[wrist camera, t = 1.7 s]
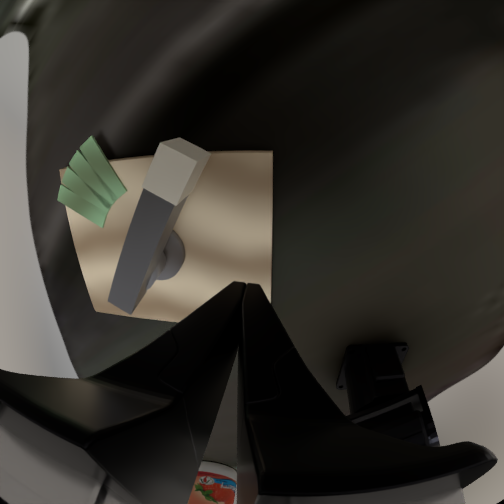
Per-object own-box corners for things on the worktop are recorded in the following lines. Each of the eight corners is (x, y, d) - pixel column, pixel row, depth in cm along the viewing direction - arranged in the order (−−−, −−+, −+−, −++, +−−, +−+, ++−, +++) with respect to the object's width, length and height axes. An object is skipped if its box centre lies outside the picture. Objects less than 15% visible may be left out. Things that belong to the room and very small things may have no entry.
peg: (158, 281, 21) (134, 318, 17) (131, 265, 21) (103, 299, 17) (221, 151, 16) (201, 163, 12) (186, 133, 16) (156, 140, 12)
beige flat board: (270, 320, 25) (269, 335, 23) (95, 303, 26) (86, 315, 25) (272, 118, 18) (271, 118, 16) (59, 142, 19) (44, 146, 17)
